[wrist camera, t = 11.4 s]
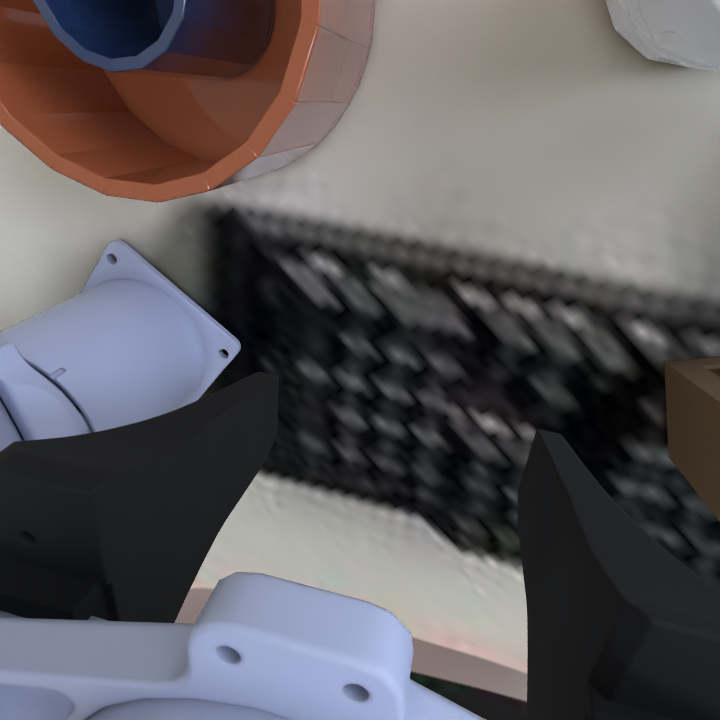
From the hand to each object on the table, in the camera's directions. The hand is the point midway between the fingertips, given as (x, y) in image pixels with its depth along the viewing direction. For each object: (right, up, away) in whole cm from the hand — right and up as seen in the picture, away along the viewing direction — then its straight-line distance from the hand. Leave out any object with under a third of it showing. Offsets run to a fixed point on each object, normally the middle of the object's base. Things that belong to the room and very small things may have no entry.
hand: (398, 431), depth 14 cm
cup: (-7, +15, +5) cm, 17 cm away
